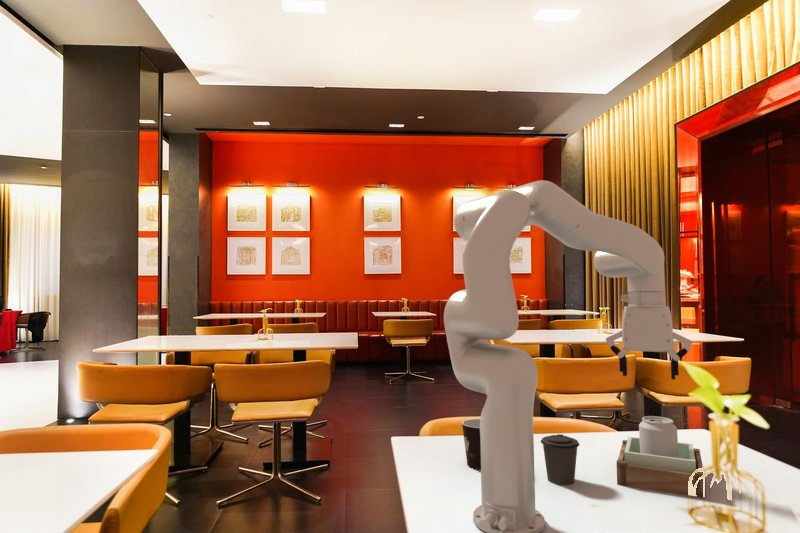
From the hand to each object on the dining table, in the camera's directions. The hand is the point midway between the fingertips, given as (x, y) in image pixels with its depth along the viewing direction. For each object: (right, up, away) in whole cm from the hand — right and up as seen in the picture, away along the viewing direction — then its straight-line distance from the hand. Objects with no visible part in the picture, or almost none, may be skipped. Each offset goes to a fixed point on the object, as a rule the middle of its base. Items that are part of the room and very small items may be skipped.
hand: (648, 376), depth 109 cm
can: (+2, -21, -2) cm, 21 cm away
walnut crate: (+2, -22, -2) cm, 23 cm away
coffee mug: (-36, -24, +8) cm, 44 cm away
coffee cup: (-21, -23, -3) cm, 31 cm away
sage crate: (+2, -22, -1) cm, 22 cm away
